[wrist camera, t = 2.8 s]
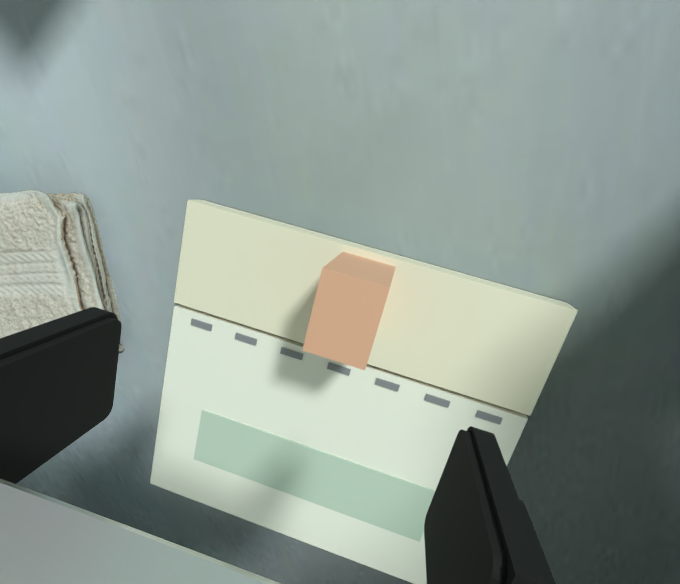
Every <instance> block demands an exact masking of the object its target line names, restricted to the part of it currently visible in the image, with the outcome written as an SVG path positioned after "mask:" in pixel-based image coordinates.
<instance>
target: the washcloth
mask: <svg viewBox="0 0 680 584" xmlns="http://www.w3.org/2000/svg"><path fill="white" fill-rule="evenodd" d="M90 307H96V308H99V309H103V310H106V311H109V312H112V313H115V314H116V315H117V318H118V320H119V321H120V318H119V311H118V306H117V301H116V296H115V292H114V288H113V286H112V282H111V279H110V276H109V273H108V270H107V266H106V261H105V256H104V251H103V246H102V242H101V238H100V235H99V231H98V226H97V223H96V219H95V215H94V212H93V209H92V206H91V204H90V201H89V199H88V197H87V196H86V195H85V194H82V193H80V194H77V193H70V194H63V193H59V194H57V195H54V194H48V195H46V194H45V193H43V192H41V191H38V190H27V191H20V192H14V193H0V338H3V337H6V336H8V335H11V334H14V333H17V332H20V331H23V330H26V329H29V328H32V327H35V326H38V325H41V324H44V323H46V322H49V321H52V320H55V319H58V318H61V317H64V316H67V315H70V314H73V313H76V312H79V311H82V310H84V309H87V308H90ZM121 351H124V347H123V345H121V344H119V352H121Z"/></svg>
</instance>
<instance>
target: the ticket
mask: <svg viewBox="0 0 680 584" xmlns="http://www.w3.org/2000/svg"><path fill="white" fill-rule="evenodd" d="M303 345H304V344H303V343H300V342H297V341H294V340H291V339H288V338H284V337H281V336H278V335H275V334H272V333H269V332H266V331H262V330H259V329H256V328H253V327H250V326H247V325H244V324H240V323H237V322H234V321H231V320H228V319H225V318H222V317H218V316H215V315H212V314H209V313H206V312H203V311H200V310H196V309H193V308H190V307H187V306H184V305H181V304H178V305H176V306H174V312H173V319H172V326H171V334H170V341H169V348H168V356H167V363H166V370H165V378H164V385H163V392H162V400H161V407H160V414H159V422H158V429H157V436H156V444H155V451H154V458H153V466H152V473H151V480H150V484H153V485H156V486H158V487H161V488H163V489H166V490H169V491H171V492H174V493H177V494H179V495H182V496H185V497H187V498H190V499H192V500H195V501H198V502H200V503H203V504H206V505H208V506H211V507H213V508H216V509H219V510H221V511H224V512H227V513H229V514H232V515H235V516H237V517H240V518H242V519H245V520H248V521H250V522H253V523H256V524H258V525H261V526H263V527H266V528H269V529H271V530H274V531H277V532H279V533H282V534H285V535H287V536H290V537H292V538H295V539H298V540H300V541H303V542H306V543H308V544H311V545H313V546H316V547H319V548H321V549H324V550H327V551H329V552H332V553H335V554H337V555H340V556H342V557H345V558H348V559H350V560H353V561H356V562H358V563H361V564H363V565H366V566H369V567H371V568H374V569H377V570H379V571H382V572H385V573H387V574H390V575H392V576H395V577H398V578H400V579H403V580H406V581H408V582H411V583H413V584H427V577H426V558H425V539H424V523H425V518H426V514H427V511H428V509H429V506H430V504H431V501H432V498H433V496H434V493H435V491H436V488H437V486H438V483H439V480H440V478H441V475H442V473H443V470H444V468H445V465H446V462H447V460H448V457H449V455H450V452H451V450H452V447H453V444H454V442H455V439H456V437H457V434H458V432H459V431H460V430H461V429H462V430H465V431H467V429H468V428H469V427H470V426H472V427H475V428H478V429H481V430H484V431H487V432H491V433H493V434H494V435H495V437H496V440H497V442H498V445H499V448H500V450H501V453H502V456H503V458H504V461H505V464H506V466H507V465H508V462H509V460H510V458H511V456H512V454H513V451H514V449H515V447H516V445H517V442H518V440H519V438H520V436H521V434H522V431H523V429H524V427H525V425H526V422H527V420H528V418H527V416H526V414H523V413H520V412H517V411H514V410H511V409H508V408H504V407H501V406H498V405H495V404H492V403H489V402H486V401H482V400H479V399H476V398H473V397H470V396H467V395H464V394H460V393H457V392H454V391H451V390H448V389H445V388H442V387H438V386H435V385H432V384H429V383H426V382H423V381H420V380H416V379H413V378H410V377H407V376H404V375H401V374H398V373H394V372H391V371H388V370H385V369H382V368H379V367H376V366H372V365H369V364H367V366H366V369H365V370H362V369H359V368H356V367H352V366H349V365H346V364H343V363H340V362H337V361H334V360H331V359H328V358H324V357H321V356H318V355H315V354H312V353H309V352H306V351H303V350H302V349H303Z"/></svg>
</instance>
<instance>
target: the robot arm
mask: <svg viewBox="0 0 680 584" xmlns="http://www.w3.org/2000/svg"><path fill="white" fill-rule="evenodd" d="M120 335H121V322H120V321H119V320H118V318H117V315H116V314H115V313H112V312H109V311H106V310H103V309H99V308H96V307H90V308H87V309H84V310H82V311H79V312H76V313H73V314H70V315H67V316H64V317H61V318H58V319H55V320H52V321H49V322H46V323H44V324H41V325H38V326H35V327H32V328H29V329H26V330H23V331H20V332H17V333H14V334H11V335H8V336H6V337H3V338H0V584H280V583H278V582H275V581H273V580H270V579H267V578H265V577H262V576H259V575H257V574H254V573H252V572H249V571H246V570H244V569H241V568H238V567H236V566H233V565H231V564H228V563H225V562H223V561H220V560H217V559H215V558H212V557H210V556H207V555H204V554H202V553H199V552H196V551H194V550H191V549H188V548H186V547H183V546H180V545H178V544H175V543H172V542H170V541H167V540H164V539H162V538H159V537H156V536H154V535H151V534H148V533H146V532H143V531H140V530H138V529H135V528H132V527H130V526H127V525H124V524H122V523H119V522H116V521H114V520H111V519H108V518H106V517H103V516H100V515H98V514H95V513H92V512H90V511H87V510H84V509H81V508H79V507H76V506H73V505H71V504H68V503H65V502H63V501H60V500H57V499H55V498H52V497H49V496H46V495H44V494H41V493H38V492H35V491H33V490H30V489H27V488H25V487H22V486H19V485H16V483H18V482H19V481H20V480H22V479H23V478H24V477H26V476H27V475H29V474H30V473H31V472H33V471H34V470H35V469H37V468H38V467H40V466H41V465H42V464H44V463H45V462H46V461H48V460H49V459H51V458H52V457H53V456H55V455H56V454H57V453H59V452H60V451H62V450H63V449H64V448H66V447H67V446H68V445H70V444H71V443H73V442H74V441H75V440H77V439H78V438H79V437H81V436H82V435H83V434H85V433H86V432H88V431H89V430H90V429H92V428H93V427H94V426H96V425H97V424H99V423H100V422H101V421H103V420H104V419H105V418H106V417H107V416H108V415H109V413H110V412H111V409H112V406H113V399H114V390H115V380H116V371H117V362H118V353H119V344H120ZM424 539H425V558H426V577H427V584H555V582H554V579H553V576H552V574H551V571H550V569H549V566H548V563H547V561H546V558H545V556H544V553H543V551H542V548H541V545H540V543H539V540H538V538H537V535H536V532H535V530H534V527H533V525H532V522H531V519H530V517H529V514H528V512H527V509H526V507H525V505H524V503H523V502H522V501H521V500H520V499H519V498H518V496H517V493H516V490H515V488H514V485H513V482H512V480H511V477H510V474H509V472H508V469H507V466H506V464H505V461H504V458H503V456H502V453H501V450H500V448H499V445H498V442H497V440H496V437H495V435H494V434H493V433H491V432H487V431H484V430H481V429H478V428H475V427H472V426H470V427H469V428H468V429H467V431H465V430H462V429H461V430H460V431H459V432H458V434H457V437H456V439H455V442H454V444H453V447H452V450H451V452H450V455H449V457H448V460H447V462H446V465H445V468H444V470H443V473H442V475H441V478H440V480H439V483H438V486H437V488H436V491H435V493H434V496H433V498H432V501H431V504H430V506H429V509H428V511H427V514H426V518H425V523H424Z"/></svg>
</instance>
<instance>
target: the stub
mask: <svg viewBox="0 0 680 584" xmlns="http://www.w3.org/2000/svg"><path fill="white" fill-rule="evenodd" d="M174 303H178V304H181V305H184V306H187V307H190V308H193V309H196V310H200V311H203V312H206V313H209V314H212V315H215V316H218V317H222V318H225V319H228V320H231V321H234V322H237V323H240V324H244V325H247V326H250V327H253V328H256V329H259V330H262V331H266V332H269V333H272V334H275V335H278V336H281V337H284V338H288V339H291V340H294V341H297V342H300V343H303V344H304V345H303V349H302V350H303V351H306V352H309V353H312V354H315V355H318V356H321V357H324V358H328V359H331V360H334V361H337V362H340V363H343V364H346V365H349V366H352V367H356V368H359V369H362V370H365V369H366V366H367V364H369V365H372V366H376V367H379V368H382V369H385V370H388V371H391V372H394V373H398V374H401V375H404V376H407V377H410V378H413V379H416V380H420V381H423V382H426V383H429V384H432V385H435V386H438V387H442V388H445V389H448V390H451V391H454V392H457V393H460V394H464V395H467V396H470V397H473V398H476V399H479V400H482V401H486V402H489V403H492V404H495V405H498V406H501V407H504V408H508V409H511V410H514V411H517V412H520V413H523V414H526V415H530V416H531V413H532V411H533V409H534V407H535V405H536V402H537V400H538V398H539V396H540V394H541V391H542V389H543V387H544V385H545V382H546V380H547V378H548V376H549V374H550V371H551V369H552V367H553V365H554V363H555V360H556V358H557V356H558V354H559V351H560V349H561V347H562V345H563V343H564V340H565V338H566V336H567V334H568V332H569V329H570V327H571V325H572V323H573V320H574V318H575V316H576V314H577V312H578V310H576V309H575V308H574V307H572V306H571V305H569V304H568V303H566V302H562V301H559V300H555V299H552V298H548V297H545V296H541V295H537V294H534V293H530V292H527V291H523V290H520V289H516V288H513V287H509V286H506V285H502V284H499V283H495V282H491V281H488V280H484V279H481V278H477V277H474V276H470V275H467V274H463V273H460V272H456V271H452V270H449V269H445V268H442V267H438V266H435V265H431V264H428V263H424V262H421V261H417V260H413V259H410V258H406V257H403V256H399V255H396V254H392V253H389V252H385V251H382V250H378V249H374V248H371V247H367V246H364V245H360V244H357V243H353V242H350V241H346V240H343V239H339V238H335V237H332V236H328V235H325V234H321V233H318V232H314V231H311V230H307V229H304V228H300V227H297V226H293V225H289V224H286V223H282V222H279V221H275V220H272V219H268V218H265V217H261V216H258V215H254V214H250V213H247V212H243V211H240V210H236V209H233V208H229V207H226V206H222V205H219V204H215V203H211V202H208V201H204V200H188V202H187V210H186V217H185V224H184V232H183V239H182V246H181V254H180V261H179V269H178V276H177V283H176V291H175V298H174Z"/></svg>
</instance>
